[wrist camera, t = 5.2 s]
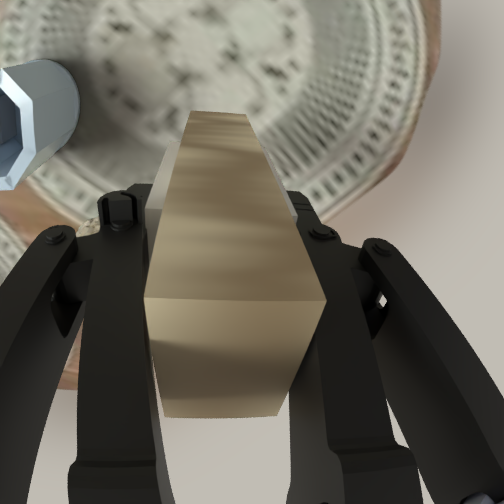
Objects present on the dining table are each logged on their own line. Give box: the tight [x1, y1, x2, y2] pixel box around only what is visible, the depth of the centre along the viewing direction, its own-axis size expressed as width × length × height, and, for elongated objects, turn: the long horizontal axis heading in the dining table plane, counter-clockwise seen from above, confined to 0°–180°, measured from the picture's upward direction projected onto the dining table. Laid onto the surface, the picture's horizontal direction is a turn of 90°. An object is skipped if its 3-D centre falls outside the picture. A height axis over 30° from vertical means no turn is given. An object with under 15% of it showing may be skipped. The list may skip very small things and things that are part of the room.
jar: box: [0, 59, 80, 190], centre depth 17 cm, size 9×9×8 cm
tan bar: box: [144, 111, 327, 418], centre depth 12 cm, size 3×4×14 cm, turn 173°
